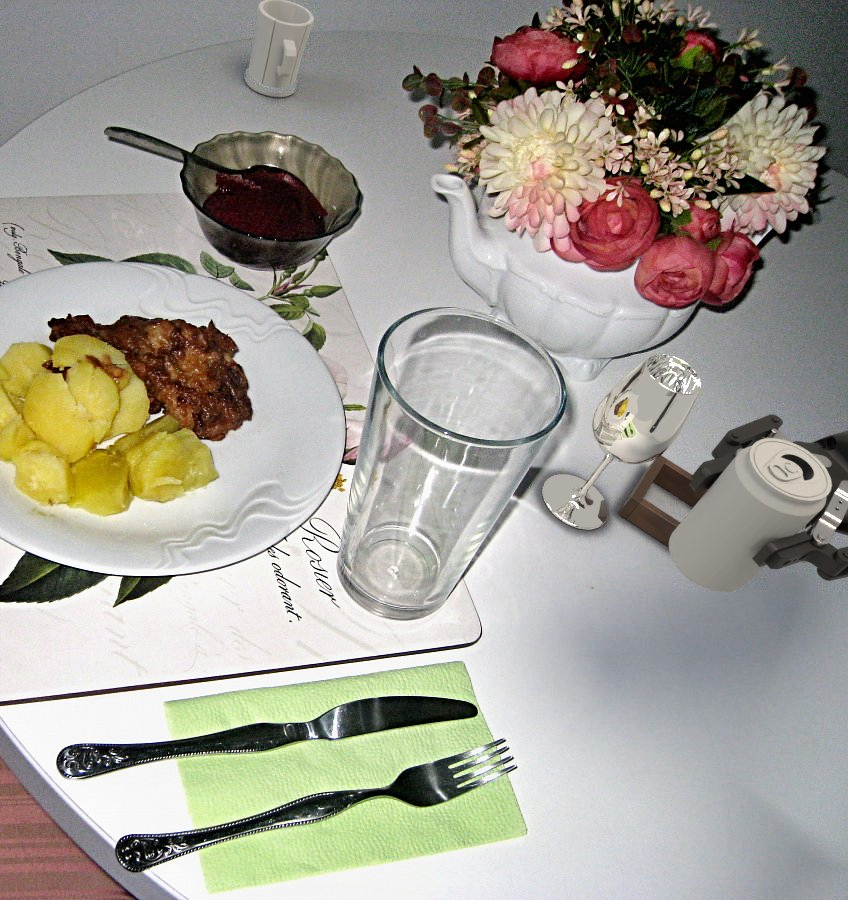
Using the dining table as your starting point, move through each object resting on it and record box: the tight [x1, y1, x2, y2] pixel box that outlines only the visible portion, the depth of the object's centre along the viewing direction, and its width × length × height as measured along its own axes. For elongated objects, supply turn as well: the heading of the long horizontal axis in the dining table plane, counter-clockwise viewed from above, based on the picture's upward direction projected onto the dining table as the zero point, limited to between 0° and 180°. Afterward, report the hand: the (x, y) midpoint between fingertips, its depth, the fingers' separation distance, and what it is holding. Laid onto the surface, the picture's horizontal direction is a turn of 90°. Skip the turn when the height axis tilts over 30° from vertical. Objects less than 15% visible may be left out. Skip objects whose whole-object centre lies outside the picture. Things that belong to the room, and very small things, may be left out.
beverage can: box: [668, 438, 832, 593], centre depth 67 cm, size 6×6×12 cm
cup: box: [243, 0, 315, 98], centre depth 143 cm, size 10×9×12 cm
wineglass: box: [541, 352, 703, 530], centre depth 91 cm, size 8×8×20 cm
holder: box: [617, 454, 708, 548], centre depth 99 cm, size 9×9×3 cm
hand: (729, 517), depth 65 cm, fingers closed on beverage can, 6 cm apart
